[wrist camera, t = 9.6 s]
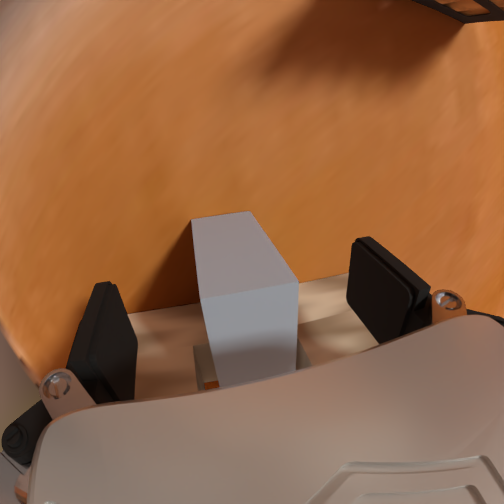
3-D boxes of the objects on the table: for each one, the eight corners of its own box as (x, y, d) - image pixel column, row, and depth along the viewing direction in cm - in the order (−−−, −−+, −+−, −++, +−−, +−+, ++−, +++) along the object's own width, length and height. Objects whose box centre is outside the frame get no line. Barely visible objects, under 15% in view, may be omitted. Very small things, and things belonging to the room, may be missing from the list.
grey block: (191, 219, 15) (200, 299, 8) (249, 210, 15) (298, 281, 9) (222, 385, 20) (241, 465, 14) (261, 377, 21) (289, 454, 15)
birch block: (105, 353, 17) (91, 443, 11) (88, 319, 16) (62, 411, 9) (360, 304, 20) (416, 371, 14) (365, 268, 19) (431, 333, 12)
